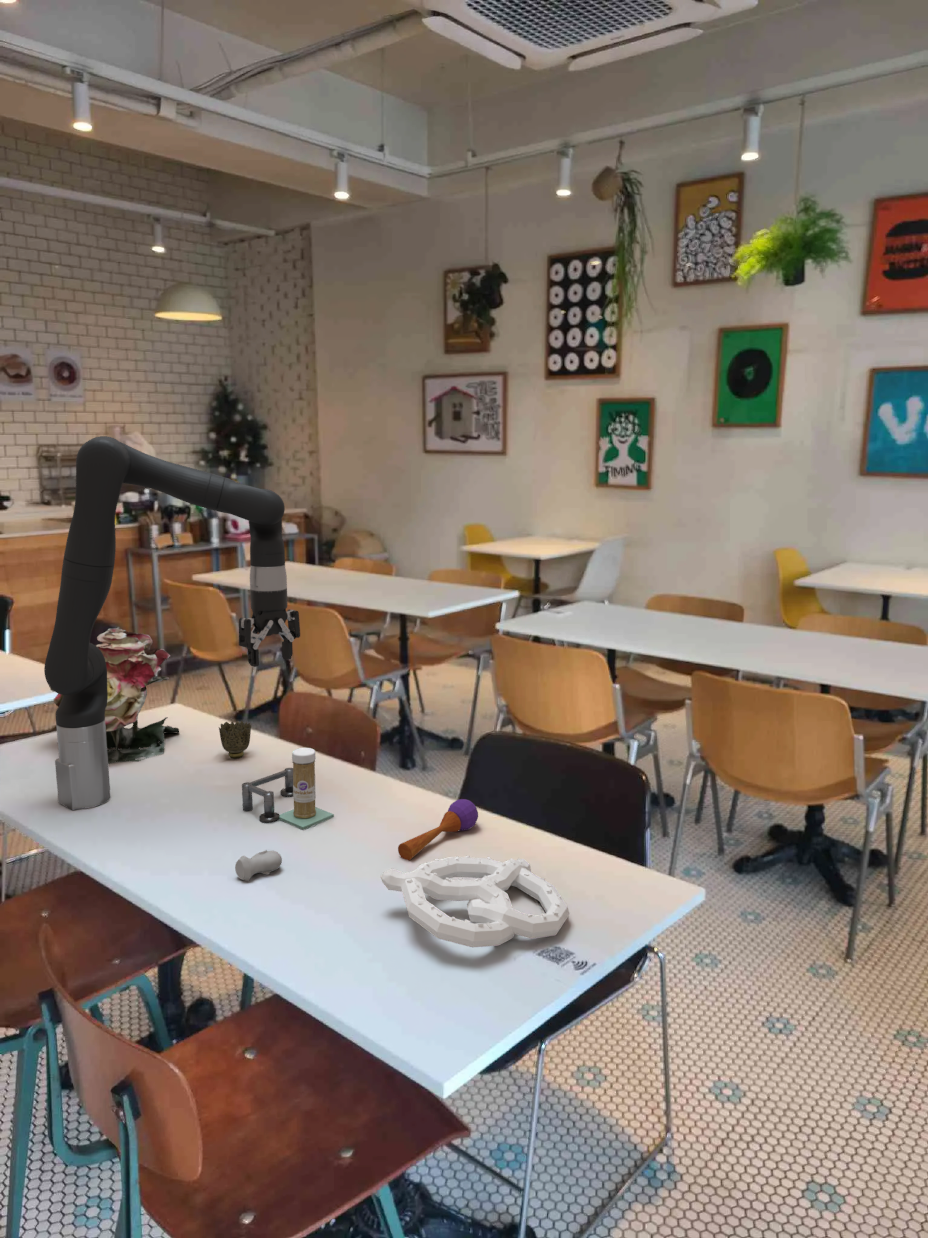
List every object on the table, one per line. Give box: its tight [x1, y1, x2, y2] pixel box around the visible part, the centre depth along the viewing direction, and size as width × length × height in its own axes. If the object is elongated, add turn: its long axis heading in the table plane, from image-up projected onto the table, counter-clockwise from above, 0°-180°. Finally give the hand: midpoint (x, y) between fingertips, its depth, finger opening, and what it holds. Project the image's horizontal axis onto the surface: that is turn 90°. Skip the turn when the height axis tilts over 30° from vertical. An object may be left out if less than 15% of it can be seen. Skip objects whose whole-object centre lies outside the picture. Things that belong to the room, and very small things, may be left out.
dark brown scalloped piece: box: [218, 720, 252, 760], centre depth 208 cm, size 8×7×8 cm
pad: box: [278, 806, 335, 831], centre depth 176 cm, size 8×8×1 cm
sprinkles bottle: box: [291, 747, 317, 818], centre depth 175 cm, size 5×5×14 cm
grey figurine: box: [234, 849, 283, 882], centre depth 153 cm, size 4×8×5 cm
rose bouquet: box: [48, 626, 180, 765], centre depth 210 cm, size 26×29×30 cm
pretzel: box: [380, 855, 570, 948], centre depth 140 cm, size 28×24×6 cm
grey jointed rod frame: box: [241, 767, 293, 824], centre depth 181 cm, size 15×11×6 cm
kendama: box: [397, 798, 479, 862], centre depth 166 cm, size 6×6×20 cm
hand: (271, 662), depth 185 cm, fingers open, 8 cm apart
